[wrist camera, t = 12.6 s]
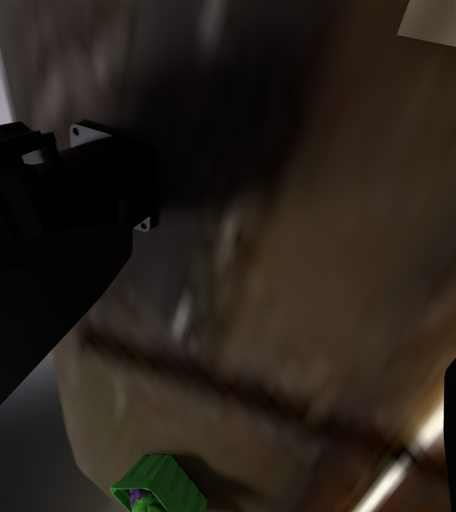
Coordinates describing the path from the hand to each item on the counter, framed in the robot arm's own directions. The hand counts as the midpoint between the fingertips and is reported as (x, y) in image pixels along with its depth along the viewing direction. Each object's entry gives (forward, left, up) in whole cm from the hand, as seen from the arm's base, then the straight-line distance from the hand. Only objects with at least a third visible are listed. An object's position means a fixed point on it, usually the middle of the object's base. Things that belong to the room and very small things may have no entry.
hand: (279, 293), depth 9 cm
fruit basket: (-5, -43, -13) cm, 45 cm away
